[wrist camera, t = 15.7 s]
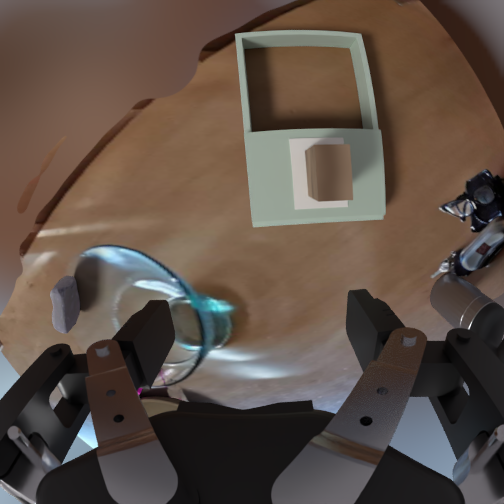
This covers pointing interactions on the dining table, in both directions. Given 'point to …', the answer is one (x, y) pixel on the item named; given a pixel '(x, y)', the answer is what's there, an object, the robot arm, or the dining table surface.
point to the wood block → (329, 172)
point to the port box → (298, 140)
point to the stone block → (65, 304)
